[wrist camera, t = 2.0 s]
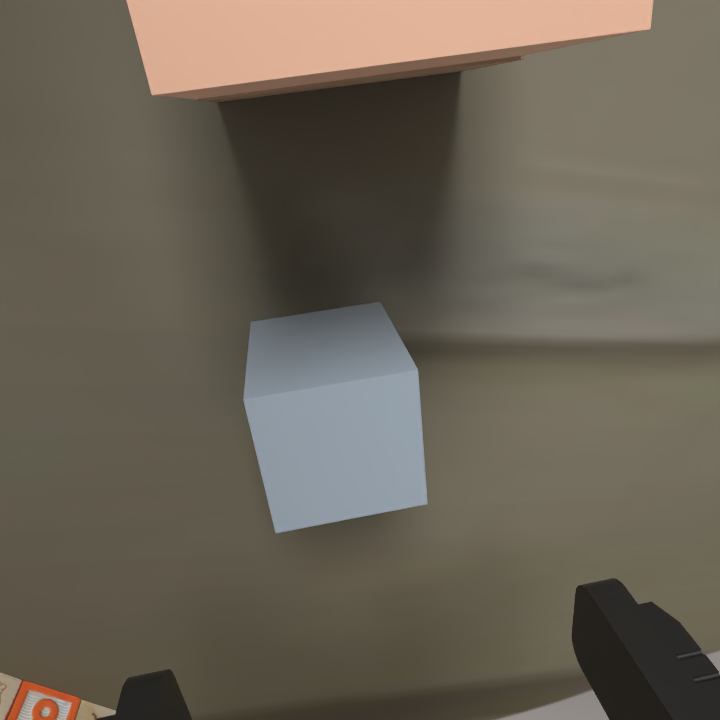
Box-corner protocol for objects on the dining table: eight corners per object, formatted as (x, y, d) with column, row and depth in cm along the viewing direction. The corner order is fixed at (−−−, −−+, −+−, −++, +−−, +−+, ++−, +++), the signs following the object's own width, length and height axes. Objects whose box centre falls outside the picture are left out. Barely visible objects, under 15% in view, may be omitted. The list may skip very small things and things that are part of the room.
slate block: (250, 321, 20) (243, 399, 15) (379, 301, 21) (417, 369, 15) (274, 430, 22) (275, 533, 17) (390, 410, 23) (427, 504, 17)
